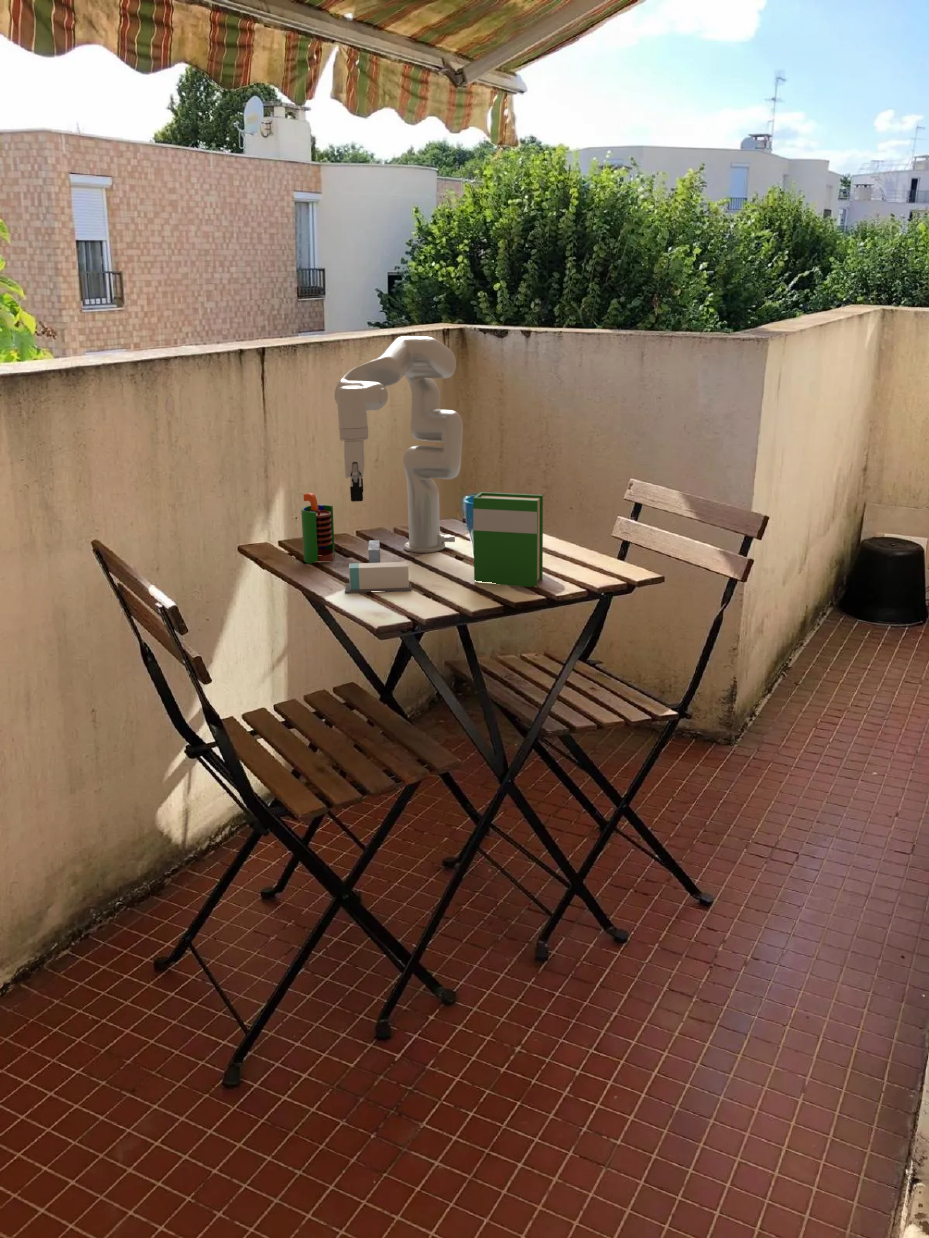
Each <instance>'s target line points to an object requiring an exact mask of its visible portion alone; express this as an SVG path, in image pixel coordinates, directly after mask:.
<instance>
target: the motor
mask: <svg viewBox="0 0 929 1238" xmlns="http://www.w3.org/2000/svg"><path fill="white" fill-rule="evenodd" d="M303 502H309V503H310V504H309V505H306V506H302V507H301V509H300V510H301V512H300V513H301V531H302V546H303V547H302V551H303V561H304V562H305V563H306V564H310V565H313V564H312V562H315V561H331V562H333V561H334V559H335V556H336V555H335V554H336V553H335V552H336V551H335V532H334V529H335V528H334V524H335V523H334V508H333V507H334V505H329V504H318V500H317V497H316V495H315V493H314V492H305V493H304V494H303ZM318 555H322V556H318Z"/></svg>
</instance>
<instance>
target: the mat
mask: <svg viewBox="0 0 929 1238" xmlns="http://www.w3.org/2000/svg"><path fill="white" fill-rule="evenodd" d="M412 589H413V588H412V583H411V584H409V587H407V588H380V589H353V590H350V582H346V583H345V588H344V594H363V593H364V594H365V593H366V594H368V593H367V592H371V591H385V592H384V593H393V592H394V593H397V592H398V593H399V592H401V593H402V592H412V591H413V590H412Z"/></svg>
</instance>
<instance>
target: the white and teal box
mask: <svg viewBox="0 0 929 1238" xmlns="http://www.w3.org/2000/svg"><path fill="white" fill-rule="evenodd" d="M348 575H349V576H348V577H349V583H350V590H353V589H380V588H407V587H409V581H410V578H409V577H410V575H409V562H408V561H391V562H390V561H389V562H385V561H384V562H380V563H369V562H367V563H366V562H362V563H359V562H358V563H355V562H354V563H349V564H348Z"/></svg>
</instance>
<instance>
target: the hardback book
mask: <svg viewBox="0 0 929 1238" xmlns="http://www.w3.org/2000/svg"><path fill="white" fill-rule="evenodd" d="M472 509H473V510H472V511H473V512H472V513H473V516H472V517H473V519H472V521H473V522H472V523H473V526H472V527H473V528H472V529H473V581H474V580H476V581H482V582H492V583H496V584H500V585H499V586H514V587H524V588H525V587H528V588H532V587H531V586H537V587H538V581H543V577H544V576H543V574H544V573H543V571H544V568H543V565H544V564H543V563H544V562H543V561H544V559H543V557H544V555H543V554H544V551H543V550H544V549H543V548H544V547H543V546H544V545H543V544H544V520H543V519H544V494H532V493H531V494H528V493H514V492H513V493H509V492H508V493H507V492H492V491H491V492H488V491H487V492H485V491H480V492H478V493H477V494H476V495H475V496H474V497H472ZM496 584H495V585H496Z"/></svg>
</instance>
